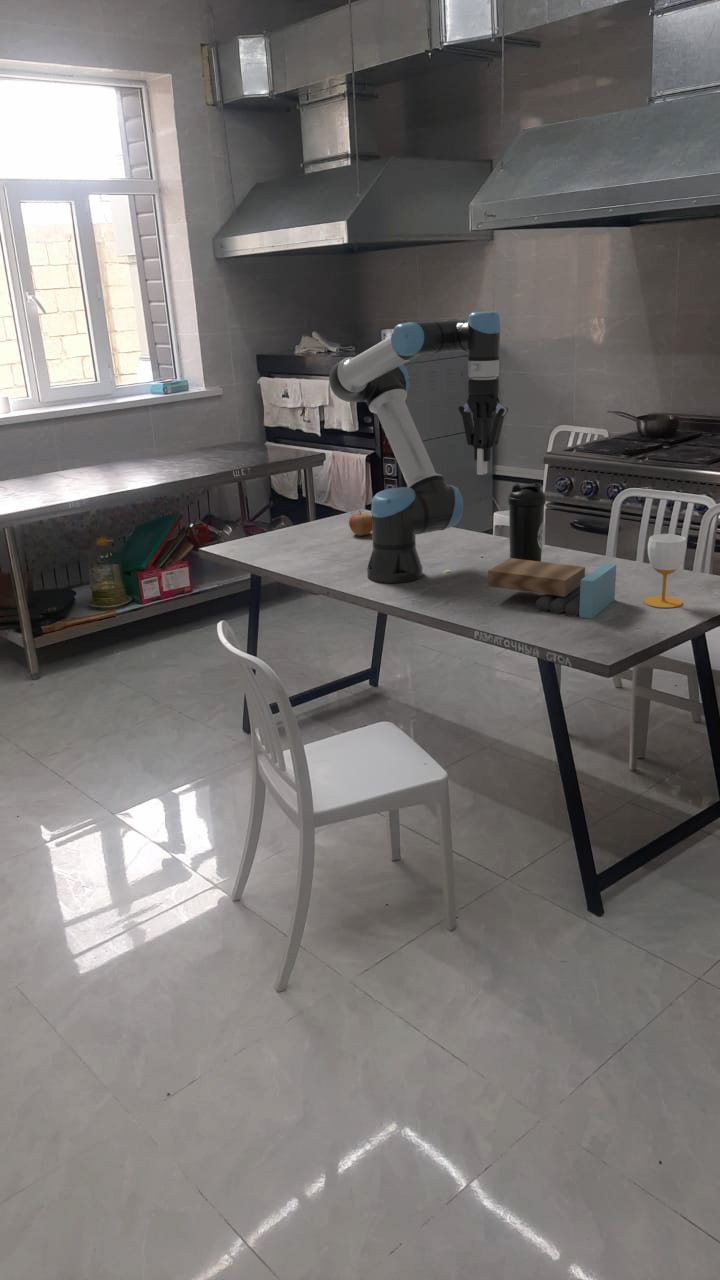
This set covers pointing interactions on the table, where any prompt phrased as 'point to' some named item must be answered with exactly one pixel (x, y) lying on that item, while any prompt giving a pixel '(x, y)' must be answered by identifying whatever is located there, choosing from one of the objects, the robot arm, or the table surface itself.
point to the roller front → (573, 607)
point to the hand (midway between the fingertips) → (482, 473)
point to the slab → (536, 576)
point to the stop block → (597, 590)
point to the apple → (361, 524)
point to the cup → (665, 564)
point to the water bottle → (526, 521)
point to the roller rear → (545, 602)
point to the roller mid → (563, 601)
